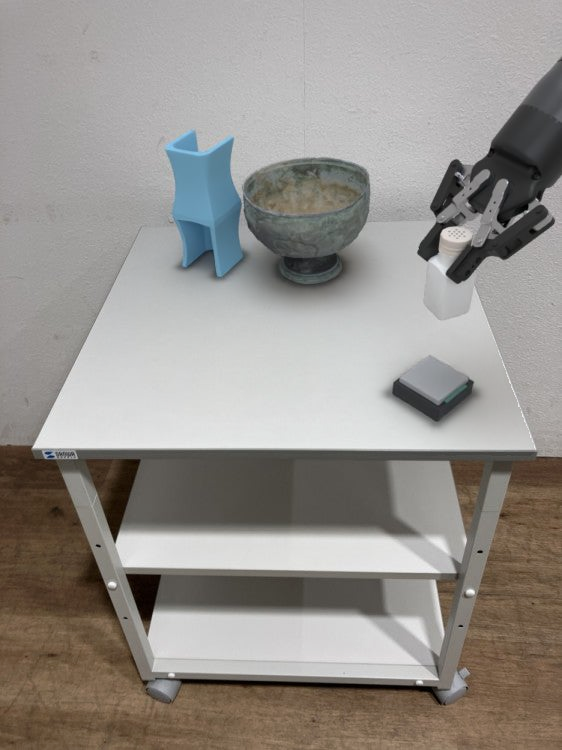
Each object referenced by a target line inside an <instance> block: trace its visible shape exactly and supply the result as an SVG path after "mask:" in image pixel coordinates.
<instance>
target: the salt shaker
mask: <svg viewBox="0 0 562 750" xmlns="http://www.w3.org/2000/svg"><path fill="white" fill-rule="evenodd" d="M473 240H474V234H473V232H472V230H470V229H468V228H467V227H463V226H461V227H457V226H455V227H448V228H446V229H443V230H442V232H441V234H440V242H439V253H438V255H435V256H433V257H431V258H430V259H429V260H428V262H427V265H426V274H425V283H424V290H423V299H422V301H423V305H424V307H425V308H426V309H427V310H428V311H429V313H431V314H432V315H433V316H434V317H435V318H436V319H437V320H438V321H443V322H444V321H448V320H451V319H454V318H457V317H460V316H463V315H467V314H468V313H469V311H470V310H471V305H472V299H473V292H474V288H475V283H476V277H477V272H478V268H477V269H476V270H475V271H474V272H473V273H472V275H471V276H470V277H469V278H468V279H467V280H466V281H462V282H461V283H459V284H456V283H455V282H453V281H452V280H451V279H450V278H448V277H447V276H446V271H447V270H448V268H449V267H450V266H451V265H452V264H453V262H454V261H455V260H456V259H457V257H458V256H459V255H460V254H461V252H462V251H463V250H464V249H465V247H466V246H467V245H468V244H469V245H471V246H472V245H473Z"/></svg>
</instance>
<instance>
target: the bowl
mask: <svg viewBox="0 0 562 750" xmlns="http://www.w3.org/2000/svg"><path fill="white" fill-rule="evenodd" d="M241 190H242V200H243V201H242V202H243V214H244V218H245V221H246V225H247V228H248V229H249V232H251V234H252V235H253V236H254V238H255V239H256V240H257V241H259V242H260V243H261V244H262V245H263V246H264V247H265V248H267V250H269V251H270V252H272V253H273V254H275V255H277V256H281V258H280V260H279V271H280V274H281V275H282V276H283V277H285V278H286V279H287V280H289V281H291V282H294V283H296V284H302V285H315V284H321V283H325V282H328V281H330V280H333V279H334V278H335V277H337V276H338V275H339V274H340V273H341V271H342V269H343V265H342V263H343V262H342V259H341V257H340V256H339V254H338V252H340V251H341V250H343V249H345V248H347V247H348V246H350V245H351V244H352V243H353V242H354V241H355V240H356V239H357V238H358V236H359V234H360V233H361V232H362V231H363V229H364V227H365V226H366V223H367V221H368V217H369V213H370V204H371V183H370V173H369V172H368V170H367V168H366V167H364V166H362V165H360V164H357V163H355V162H352V161H349V160H345V159H340V158H335V157H328V156H327V157H324V156H323V157H314V156H313V157H306V156H305V157H298V158H296V157H295V158H289V159H288V158H287V159H284V160H279V161H275V162H272V163H269V164H266V165H264V166H261V167H259V168H257V169H256V170H254V171H253V172H251V173H249V174H248V175H247V177H246V178H245V179H244V180H243V181H242V186H241Z"/></svg>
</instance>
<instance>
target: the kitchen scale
mask: <svg viewBox="0 0 562 750" xmlns="http://www.w3.org/2000/svg"><path fill="white" fill-rule="evenodd" d="M474 384H475V381H474V380H472V379H470V376H469V375H467V374H464V372H463V373H462V372H461V371H459V370H457V369H456V368H455V367H452V366H451V365H448V364H447V363H445V362H443V361H442V360H439V359H438V358H436V357H434V356H433V355H430V354H429V355H428V356H426V357H425V358H423V360H421V361H419V362H418V363H417V364H416V365H415V366H413V367H412V368H410V369H409V370H408V371H406V372H405V373H403V374H402V375H400V377H398V378H397V379H395V380H394V381H393V383H392V393H391V394H393V395H394V396H395V397H397V398H399V399H400V400H402V401H404V402H405V403H407V404H409V405H410V406H411V407H413V408H415V409H417V411H419V412H421V413H423V414H424V415H426V416H427V417H429V418H431V419H432V420H434V421H435V422H439V421H440V420H442V418H444V417H445V416H446V415H447V414H448V413H449V412H451V411H452V410H453V409H454V408H456V407H457V406H458V405H459V404H460V403H462V402H463V401H464V400H465V399H467V398H468V397H469V396H470V395H471V394H472V393H473V389H474Z"/></svg>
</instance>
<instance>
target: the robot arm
mask: <svg viewBox="0 0 562 750" xmlns="http://www.w3.org/2000/svg"><path fill="white" fill-rule="evenodd" d="M561 177H562V55H561V56H560V57H559V58H558V60H557V61H556V62H555V63H554V65H553V66H551V68H550V69H549V70H548V71H547V72H546V73H545V74H544V75H543V76H542V77H541V78H540V79H539V80H538V81H537V82H536V83H535V85H534V86H532V88H531V90H530V91H529V92H528V94H527V95H526V96H525V98H524V99H523V100H522V101H521V103H520V104H519V105H518V106H517V108H516V109H515V110H514V111H513V113H512V114H511V115H510V117H509V118H508V119H507V120H506V122H505V123H504V124H503V125H502V127H501V128H500V129H499V131H498V132H497V133H496V134H495V136H494V137H493V138H492V140H491V142H490V147H489V150H488V152H487V154H486V155H484V157H483V158H481V159H480V160H477V161H476V162H475V163H474V164H464V163H462V162H461V161H460V159H458V158H455V159H453V160H451V161H450V163H449V164H448V166H447V168H446V171H445V173H444V175H443V178H442V180H441V182H440V184H439V185H438V188H437V189H436V192H435V195H434V196H433V199H432V201H431V202H430V205H429V209H430V211H431V212H432V213H433V215H434V216H435V223H434V225H433V226H432V227H431V228H430V229H429V231H428V232H427V233H426V235H425V236H424V237H423V239H422V240H421V241H420V243H419V245H418V246H417V247H418V249H417V251H416V254H417V256H419V257H420V258H421V259H422V260H424V261H425V262H426V263H428V260H429V259H430V258H431V257H433V256H435V255H438V254H439V242H440V234H441V232H442V230H443V229H446V228H448V227H455V226H457V227H463V225H464V224H466V223H467V222H472V221H474V220H475V219H476V218H478V217H479V216H480V215H481V217H480V225H479V228H478V230H477V232H476V233H475V236H474V237H473V239H472V244H471V245H469V244H468V245H467V246H466V247H465V249H464V250H463V251H462V252H461V254H460V255H459V256H458V257H457V259H456V260H455V261H454V262H453V264H452V265H451V266H450V267H449V268H448V270H447V271H446V276H447V277H448V278H450V279H451V280H452V281H453V282H455V283H456V284H459V283H461V282H462V281H466V280H467V279H468V278H469V277H470V276H471V275H472V273H473V272H474V271H475V270H476V269H477V270H478V268H479V266H480V265H481V264H482V263H483V262H484V260H485V259H486V258H490V257H495V258H499V259H500V260H502V261H506V260H508V259H510V258H511V257H513V256H514V255H515V254H516V253H518V252H519V251H521V250H522V249H524V248H525V247H526V246H528V245H529V244H530V243H531V242H533V241H534V240H536V239H537V238H538V237H540V236H541V235H542V234H544V233H545V232H546V231H548V230H549V229H550V228H552V227H553V226H554V225H555V223H556V219H555V217H554V216H553V214H552V213H551V212H550V210H549V209H548V208H547V207H546V205H544V204H542V203H541V202H542V200H543V196H544V193H545V192H546V190H547V189H550V188H553V186H554V185H556V183H557V182H558V181H559V179H560V178H561ZM467 203H468V205H469V206H468V205H467ZM520 215H522V217H520V218H519V219H518V220H516V221H515V219H516V217H517V216H520ZM514 221H515V222H514ZM513 222H514V223H513Z"/></svg>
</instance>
